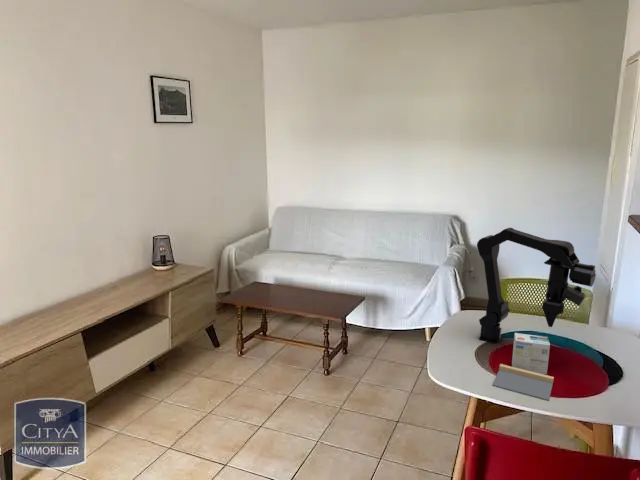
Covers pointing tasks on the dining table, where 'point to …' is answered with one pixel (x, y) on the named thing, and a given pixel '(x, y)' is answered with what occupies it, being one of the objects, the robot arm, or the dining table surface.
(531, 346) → the light bulb box
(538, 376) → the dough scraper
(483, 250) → the robot arm
